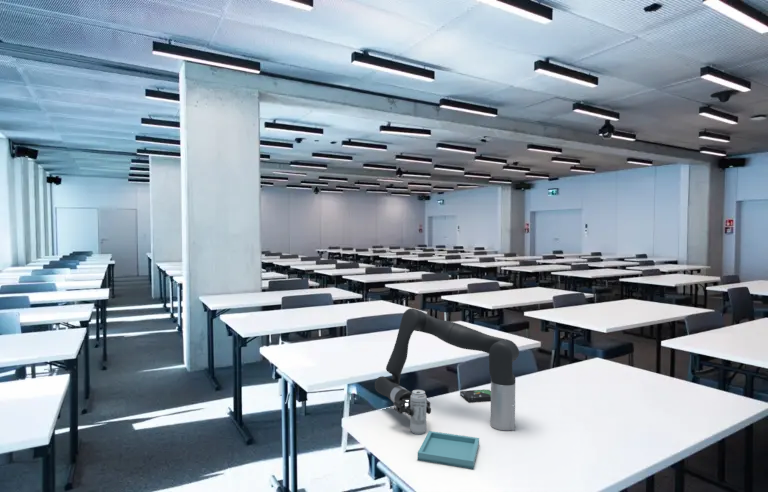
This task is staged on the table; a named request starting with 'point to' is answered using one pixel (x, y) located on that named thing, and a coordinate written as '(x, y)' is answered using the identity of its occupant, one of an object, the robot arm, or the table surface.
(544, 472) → the table surface
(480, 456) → the table surface
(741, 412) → the table surface
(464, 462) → the tray
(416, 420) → the energy drink can
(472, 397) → the disk drive
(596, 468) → the table surface
